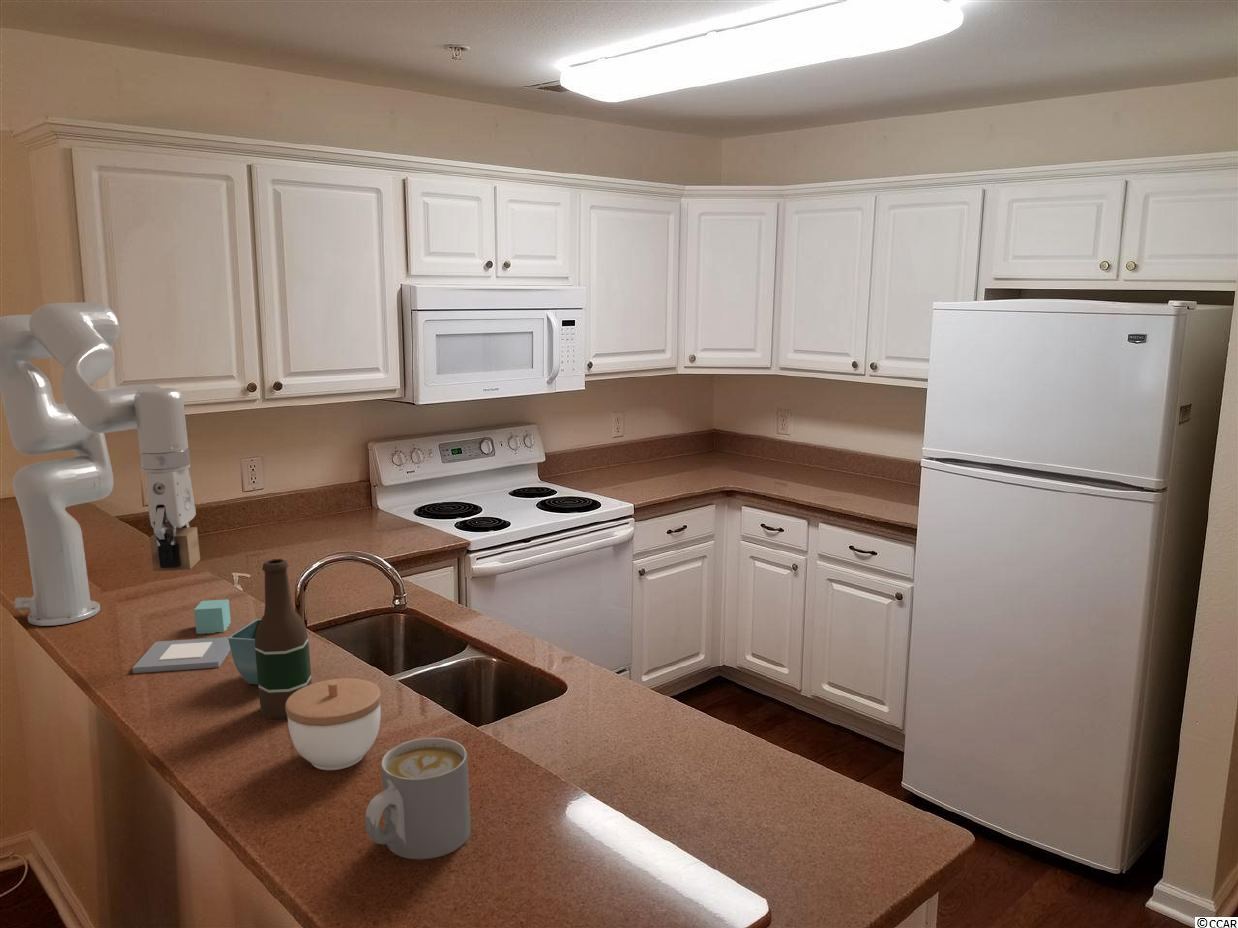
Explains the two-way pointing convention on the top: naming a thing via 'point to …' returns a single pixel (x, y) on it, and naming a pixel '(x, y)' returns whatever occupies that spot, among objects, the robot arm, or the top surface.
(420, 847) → the coffee mug
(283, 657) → the beer bottle
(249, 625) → the flower pot
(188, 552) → the walnut block
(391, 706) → the top surface
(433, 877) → the top surface
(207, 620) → the teal block
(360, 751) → the lidded bowl
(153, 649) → the pad
